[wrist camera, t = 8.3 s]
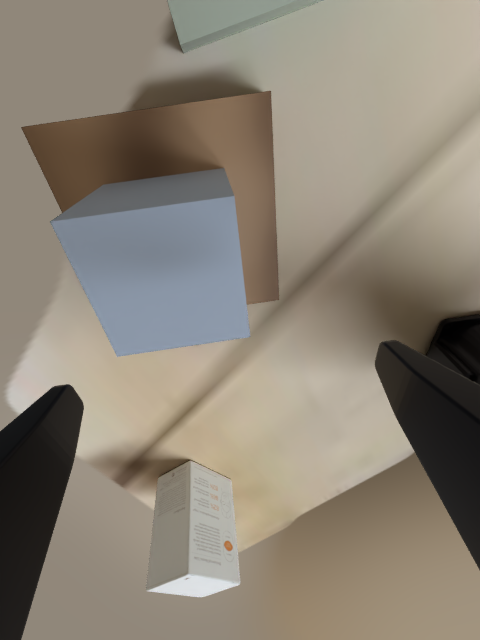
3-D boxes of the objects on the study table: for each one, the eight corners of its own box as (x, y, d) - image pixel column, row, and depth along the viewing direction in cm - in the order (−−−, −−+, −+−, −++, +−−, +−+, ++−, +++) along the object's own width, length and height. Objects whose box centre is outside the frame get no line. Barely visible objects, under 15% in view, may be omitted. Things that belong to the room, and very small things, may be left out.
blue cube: (224, 167, 14) (234, 195, 9) (237, 275, 18) (250, 336, 13) (103, 184, 14) (49, 221, 9) (141, 289, 18) (117, 356, 13)
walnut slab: (261, 93, 15) (270, 90, 13) (271, 281, 21) (279, 299, 19) (46, 124, 14) (21, 127, 12) (124, 303, 21) (116, 324, 19)
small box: (157, 475, 35) (142, 591, 27) (190, 458, 33) (186, 575, 25) (201, 494, 39) (200, 599, 31) (233, 479, 38) (241, 586, 29)
